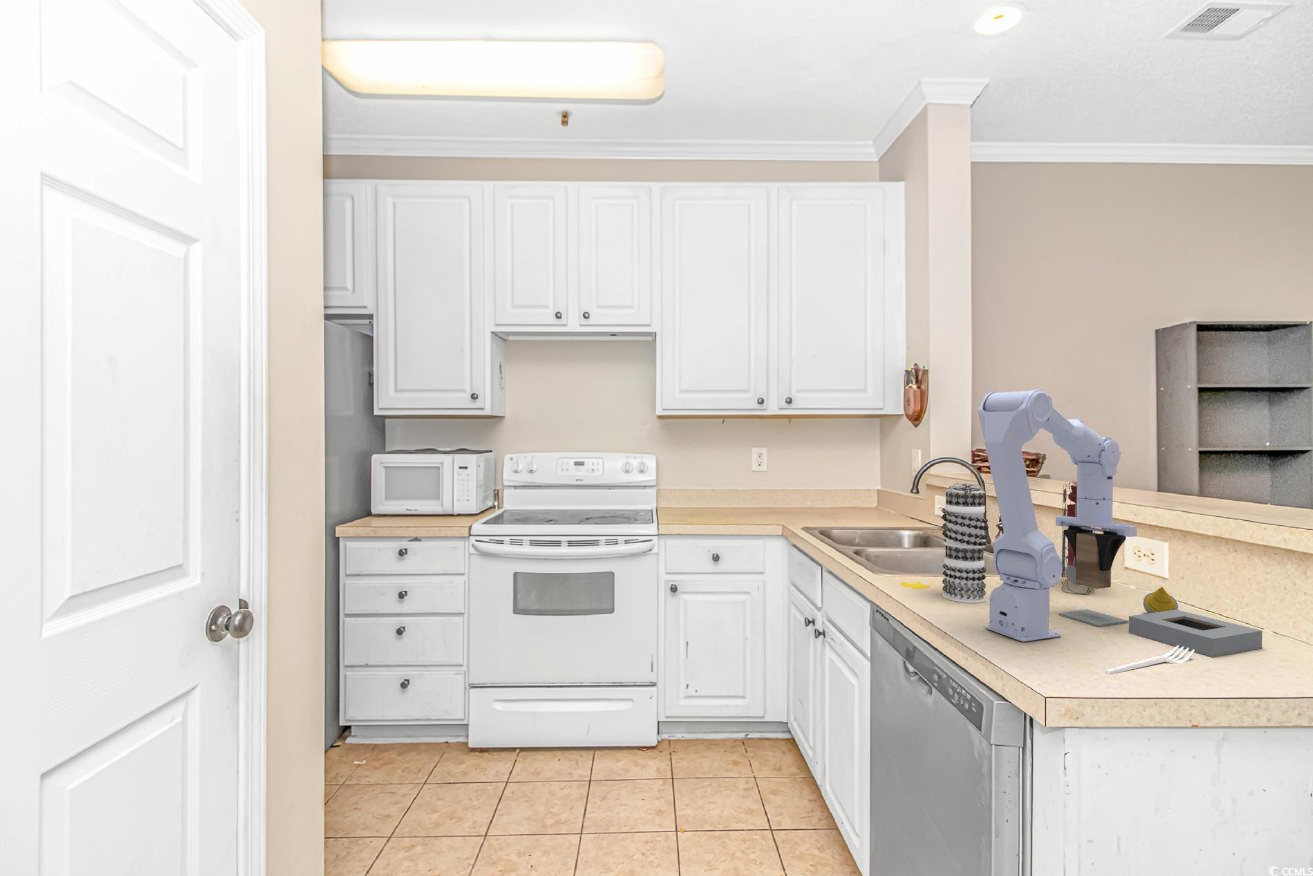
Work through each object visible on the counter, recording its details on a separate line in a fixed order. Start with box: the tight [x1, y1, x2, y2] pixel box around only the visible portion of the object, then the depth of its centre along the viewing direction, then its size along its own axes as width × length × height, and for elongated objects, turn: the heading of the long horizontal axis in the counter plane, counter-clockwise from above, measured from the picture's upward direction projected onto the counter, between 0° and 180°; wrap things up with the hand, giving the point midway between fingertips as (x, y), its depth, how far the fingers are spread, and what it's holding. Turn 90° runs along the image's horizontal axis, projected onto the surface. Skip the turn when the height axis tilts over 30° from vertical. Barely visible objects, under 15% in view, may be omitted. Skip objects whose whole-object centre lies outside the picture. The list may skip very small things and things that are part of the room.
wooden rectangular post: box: [1076, 532, 1112, 590], centre depth 121 cm, size 4×4×10 cm
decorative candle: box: [941, 482, 989, 604], centre depth 136 cm, size 9×9×25 cm
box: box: [1061, 481, 1092, 596], centre depth 142 cm, size 25×6×24 cm, turn 144°
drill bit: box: [1142, 586, 1179, 614], centre depth 122 cm, size 5×5×10 cm
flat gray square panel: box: [1058, 608, 1129, 628], centre depth 121 cm, size 8×8×1 cm
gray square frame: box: [1128, 609, 1263, 658], centre depth 109 cm, size 13×13×3 cm
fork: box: [1104, 645, 1195, 676], centre depth 98 cm, size 3×20×2 cm, turn 112°
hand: (1093, 567), depth 121 cm, fingers closed on wooden rectangular post, 4 cm apart
